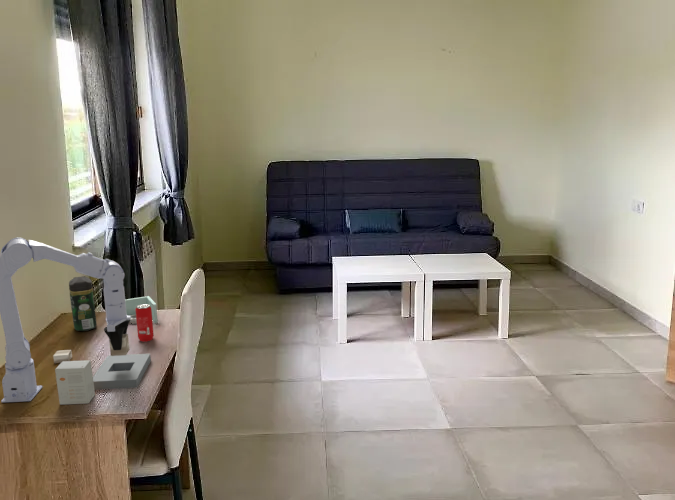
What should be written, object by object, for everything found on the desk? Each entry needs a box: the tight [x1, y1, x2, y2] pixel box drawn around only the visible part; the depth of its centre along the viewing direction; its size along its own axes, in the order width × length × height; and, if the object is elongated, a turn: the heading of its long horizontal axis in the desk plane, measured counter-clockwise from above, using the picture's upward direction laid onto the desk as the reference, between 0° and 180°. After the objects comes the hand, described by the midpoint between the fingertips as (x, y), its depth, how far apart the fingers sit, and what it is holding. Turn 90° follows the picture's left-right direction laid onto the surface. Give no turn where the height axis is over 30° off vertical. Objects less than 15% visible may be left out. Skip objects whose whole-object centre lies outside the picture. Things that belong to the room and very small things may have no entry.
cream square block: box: [108, 333, 130, 356], centre depth 197 cm, size 4×4×5 cm
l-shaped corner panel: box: [125, 295, 159, 325], centre depth 247 cm, size 12×12×8 cm
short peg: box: [52, 349, 73, 364], centre depth 212 cm, size 4×4×2 cm
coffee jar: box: [68, 275, 97, 332], centre depth 240 cm, size 10×8×19 cm
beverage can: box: [135, 304, 155, 343], centre depth 227 cm, size 5×5×12 cm
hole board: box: [93, 353, 152, 391], centre depth 199 cm, size 20×13×2 cm, turn 4°
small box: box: [54, 359, 96, 406], centre depth 182 cm, size 8×6×10 cm
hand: (119, 346), depth 197 cm, fingers closed on cream square block, 4 cm apart
